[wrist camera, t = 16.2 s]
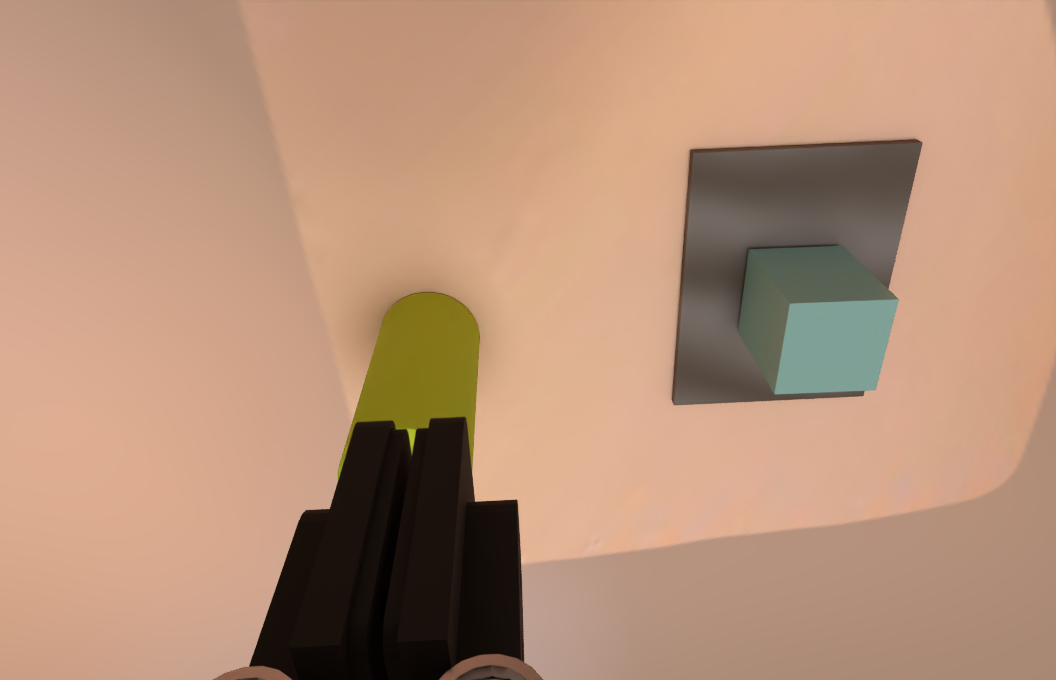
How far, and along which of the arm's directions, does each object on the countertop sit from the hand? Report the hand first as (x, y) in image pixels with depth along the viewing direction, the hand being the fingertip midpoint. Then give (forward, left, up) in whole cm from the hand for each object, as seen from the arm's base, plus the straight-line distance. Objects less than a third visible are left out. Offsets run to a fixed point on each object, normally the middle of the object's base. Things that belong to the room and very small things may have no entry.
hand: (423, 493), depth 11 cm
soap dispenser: (+13, -4, -29) cm, 32 cm away
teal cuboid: (+11, +17, -28) cm, 35 cm away
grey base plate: (+11, +17, -29) cm, 35 cm away
